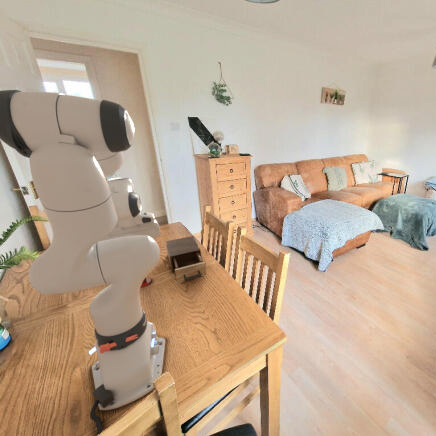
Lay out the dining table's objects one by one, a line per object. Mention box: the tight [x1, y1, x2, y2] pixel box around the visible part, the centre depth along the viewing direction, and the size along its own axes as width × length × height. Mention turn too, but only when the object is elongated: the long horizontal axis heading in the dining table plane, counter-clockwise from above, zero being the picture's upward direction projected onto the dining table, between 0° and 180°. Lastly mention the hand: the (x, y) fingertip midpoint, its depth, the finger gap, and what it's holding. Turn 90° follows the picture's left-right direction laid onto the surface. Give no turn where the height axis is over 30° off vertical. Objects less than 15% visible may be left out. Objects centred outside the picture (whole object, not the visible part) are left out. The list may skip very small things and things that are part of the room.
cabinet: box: [165, 235, 203, 273], centre depth 120 cm, size 17×14×9 cm
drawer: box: [173, 252, 207, 284], centre depth 110 cm, size 20×12×7 cm, turn 32°
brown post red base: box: [140, 276, 152, 288], centre depth 102 cm, size 6×6×11 cm
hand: (135, 250), depth 97 cm, fingers open, 8 cm apart
